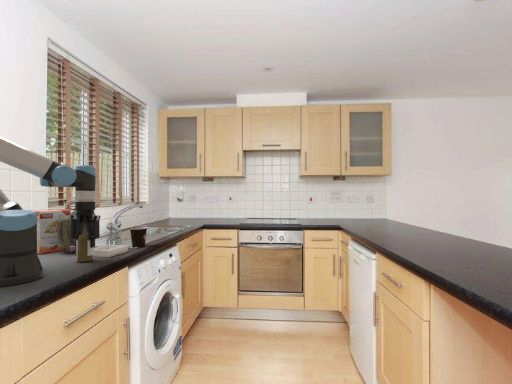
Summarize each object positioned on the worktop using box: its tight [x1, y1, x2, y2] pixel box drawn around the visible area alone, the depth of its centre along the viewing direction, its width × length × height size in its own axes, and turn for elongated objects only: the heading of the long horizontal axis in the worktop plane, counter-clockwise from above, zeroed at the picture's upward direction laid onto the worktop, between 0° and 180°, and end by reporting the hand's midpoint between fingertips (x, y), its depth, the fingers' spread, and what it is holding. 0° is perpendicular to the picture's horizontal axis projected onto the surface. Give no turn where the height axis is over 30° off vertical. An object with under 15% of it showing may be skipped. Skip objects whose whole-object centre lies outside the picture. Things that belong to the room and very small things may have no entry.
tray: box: [93, 244, 129, 258], centre depth 134 cm, size 13×12×3 cm
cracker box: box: [34, 209, 72, 255], centre depth 141 cm, size 14×6×21 cm, turn 150°
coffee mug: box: [129, 226, 148, 249], centre depth 150 cm, size 12×9×10 cm
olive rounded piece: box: [76, 234, 94, 263], centre depth 120 cm, size 6×6×11 cm
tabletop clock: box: [57, 201, 88, 254], centre depth 139 cm, size 14×9×25 cm, turn 118°
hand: (85, 254), depth 120 cm, fingers closed on olive rounded piece, 5 cm apart
